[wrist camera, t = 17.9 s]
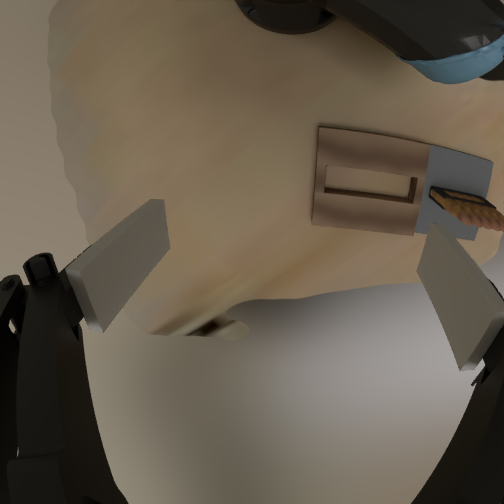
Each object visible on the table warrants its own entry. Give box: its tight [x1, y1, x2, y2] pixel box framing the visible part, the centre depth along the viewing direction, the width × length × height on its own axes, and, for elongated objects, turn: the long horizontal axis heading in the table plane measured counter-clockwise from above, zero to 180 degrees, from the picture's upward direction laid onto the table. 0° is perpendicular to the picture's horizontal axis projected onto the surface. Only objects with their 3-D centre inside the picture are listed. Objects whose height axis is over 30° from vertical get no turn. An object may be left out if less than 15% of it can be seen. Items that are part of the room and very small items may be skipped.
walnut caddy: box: [311, 126, 431, 236], centre depth 37 cm, size 14×16×2 cm
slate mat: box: [414, 143, 493, 241], centre depth 35 cm, size 14×13×1 cm
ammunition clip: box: [429, 186, 504, 232], centre depth 30 cm, size 11×2×12 cm, turn 90°
